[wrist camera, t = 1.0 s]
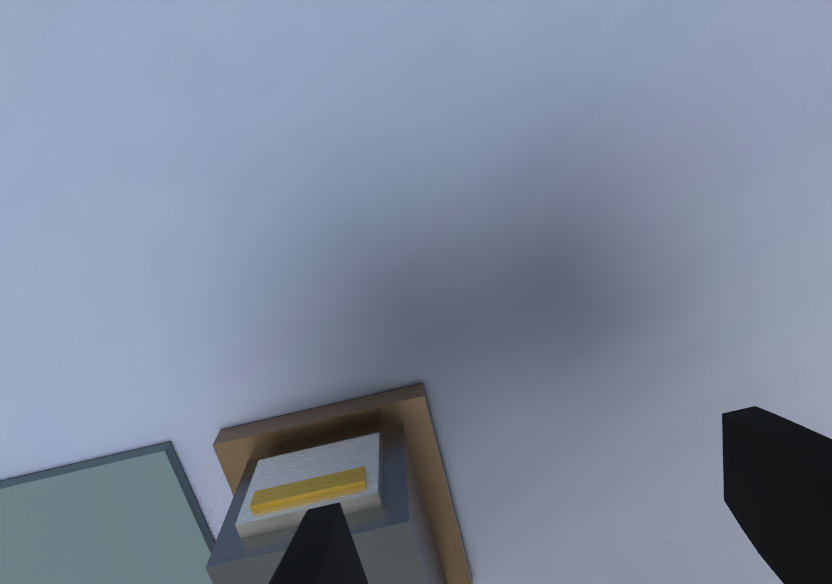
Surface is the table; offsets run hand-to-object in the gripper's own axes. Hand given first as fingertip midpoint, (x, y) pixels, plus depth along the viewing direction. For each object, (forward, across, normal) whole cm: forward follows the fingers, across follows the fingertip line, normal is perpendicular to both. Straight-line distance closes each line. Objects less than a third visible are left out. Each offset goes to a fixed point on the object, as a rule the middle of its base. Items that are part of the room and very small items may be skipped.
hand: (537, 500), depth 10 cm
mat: (+10, +17, +8) cm, 21 cm away
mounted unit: (+10, +6, +8) cm, 14 cm away
